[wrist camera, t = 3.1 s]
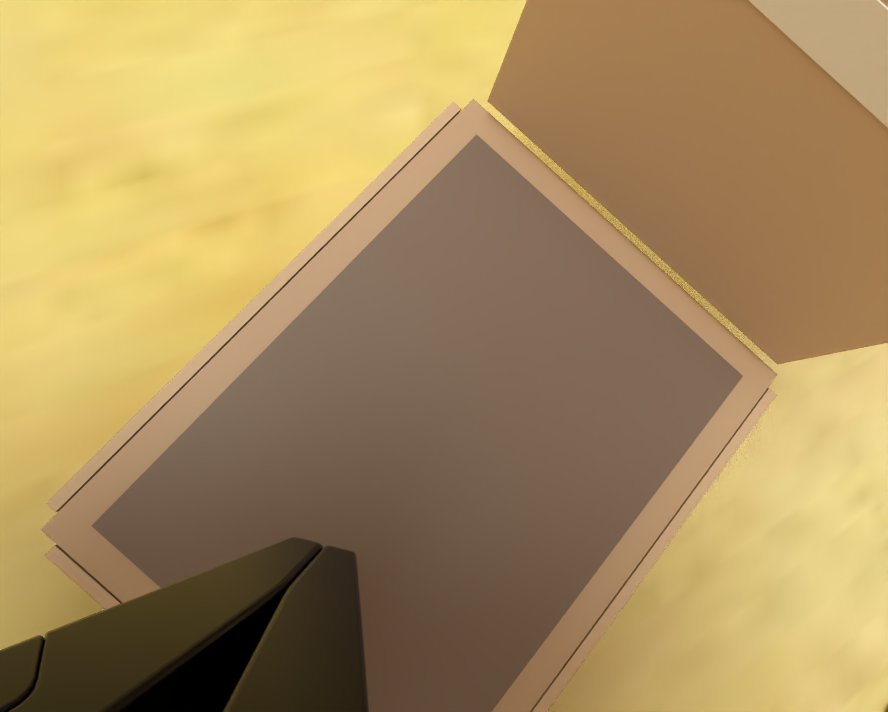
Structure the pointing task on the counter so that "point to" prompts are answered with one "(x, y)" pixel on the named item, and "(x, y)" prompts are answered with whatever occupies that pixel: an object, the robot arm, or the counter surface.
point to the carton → (437, 427)
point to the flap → (727, 148)
